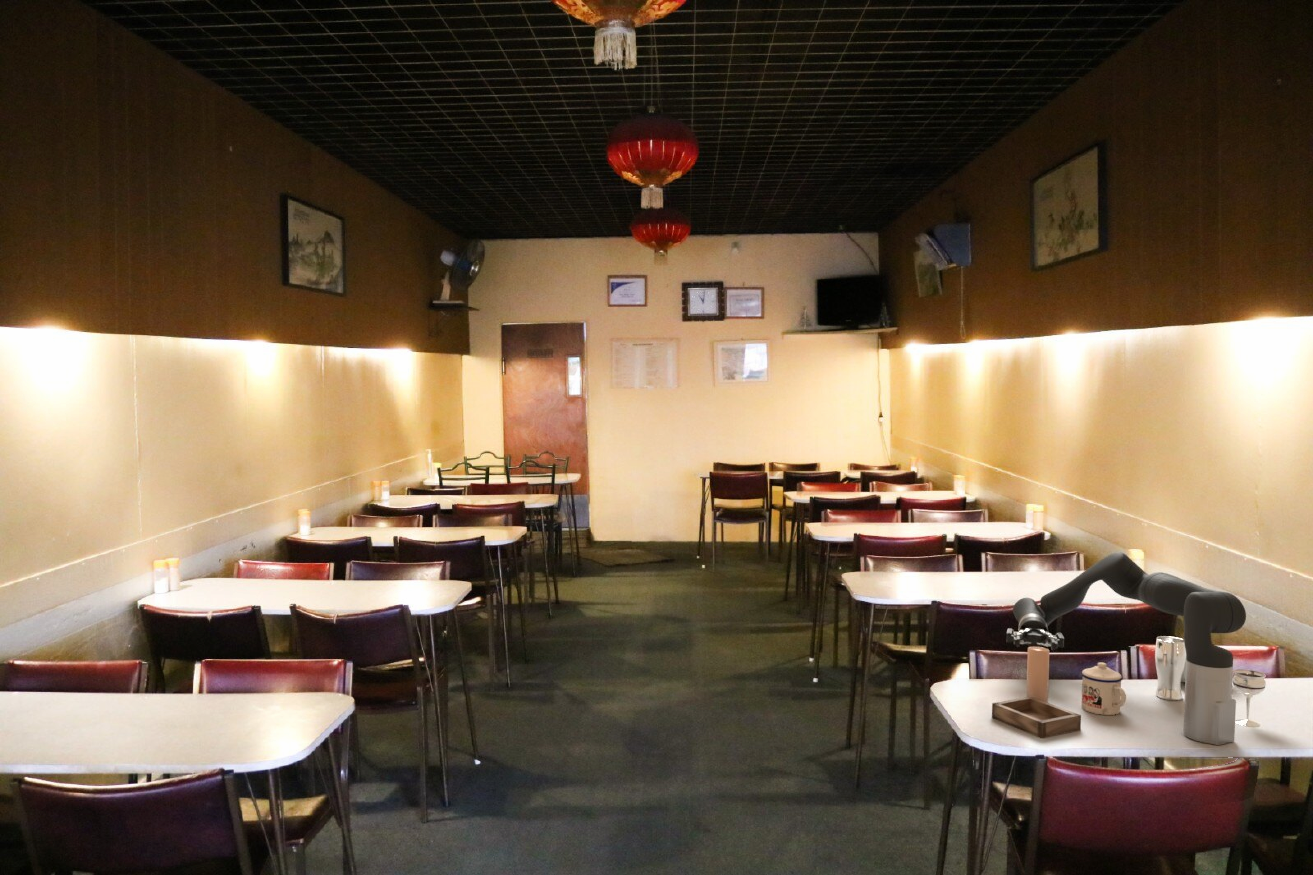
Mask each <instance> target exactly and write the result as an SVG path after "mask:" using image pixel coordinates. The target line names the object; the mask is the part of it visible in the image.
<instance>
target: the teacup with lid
mask: <svg viewBox="0 0 1313 875" xmlns="http://www.w3.org/2000/svg"><path fill="white" fill-rule="evenodd" d="M1107 665H1108V664H1107V663H1105V662H1103V661H1102V662H1097V665H1095V666H1093V667H1089V668H1085V669H1083V670H1082V672H1081V677H1082V683H1081V685H1082V687H1081V707H1082V709H1083V710H1084V711H1086V712H1089V713H1090V714H1095V715H1099V714H1101V716H1115V714H1116V715H1118V714H1119V713H1121V707H1123V706H1124V705H1125V703H1126V701H1127V693H1126V692H1125V690H1124V689H1123V688H1122V680H1123V677H1122V675H1121V674H1120V673H1119V672H1118V671H1115V670H1113V669H1111V668H1110V667H1108V666H1107Z"/></svg>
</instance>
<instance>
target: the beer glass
mask: <svg viewBox="0 0 1313 875" xmlns="http://www.w3.org/2000/svg"><path fill="white" fill-rule="evenodd" d="M1154 651H1155V652H1154V660H1155V669H1156V674H1157V688H1156V691H1155V696H1156V697H1157V696H1158V697H1157V698H1159V699H1162V700H1166V701H1167V700H1168V701H1173V700H1178V701H1182V699H1183V694H1182V682H1181V681H1182V676H1183V672H1184V668H1185V662H1186V649H1185V644H1184V638H1181V637H1175V636H1169V635H1168V636H1166V635H1163V636H1162V635H1160V636H1157V637H1156V642H1155V650H1154Z"/></svg>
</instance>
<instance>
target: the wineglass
mask: <svg viewBox="0 0 1313 875" xmlns="http://www.w3.org/2000/svg"><path fill="white" fill-rule="evenodd" d="M1266 676H1267V675H1266V674H1265V673H1263V672H1261V671H1258V670H1257V671H1256V670H1253V669H1244V668H1243V669H1242V668H1239V669H1234V670H1233V677H1232V686H1233V687H1234V688H1235V689H1237V691H1238V692H1239V693H1241V694H1243V695H1244V696H1245V698H1246V718H1245V719H1244V718H1243V719H1240V718H1239V719H1235V724H1239V725H1241V726H1244V727H1250V728H1256V727H1260V726H1261V724H1259V723H1258V722H1256V721H1253V720H1251V719H1250V718H1249V716H1250V708H1251V706H1250V705H1251V698H1253V696H1256V695H1259V694H1261V693H1262V692H1264V691H1265V688H1266V685H1267V683H1266V680H1265V678H1266Z"/></svg>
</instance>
